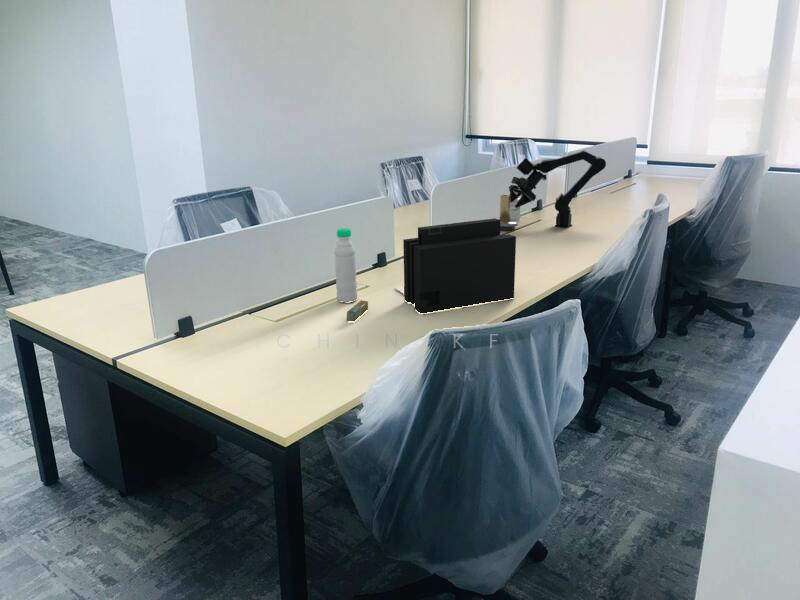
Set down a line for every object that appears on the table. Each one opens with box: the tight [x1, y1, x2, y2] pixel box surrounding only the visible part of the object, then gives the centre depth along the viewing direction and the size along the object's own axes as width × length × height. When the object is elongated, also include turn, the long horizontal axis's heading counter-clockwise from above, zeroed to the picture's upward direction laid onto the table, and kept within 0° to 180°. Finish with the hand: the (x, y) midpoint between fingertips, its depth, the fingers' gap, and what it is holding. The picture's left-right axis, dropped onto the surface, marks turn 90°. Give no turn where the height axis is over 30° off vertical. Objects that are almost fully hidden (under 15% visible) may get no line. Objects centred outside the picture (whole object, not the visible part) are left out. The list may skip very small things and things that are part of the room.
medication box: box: [346, 299, 369, 322], centre depth 214 cm, size 12×3×4 cm, turn 161°
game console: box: [402, 218, 517, 313], centre depth 230 cm, size 35×30×27 cm
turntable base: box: [500, 226, 516, 231], centre depth 330 cm, size 10×10×2 cm
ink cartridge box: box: [510, 195, 521, 222], centre depth 344 cm, size 9×5×15 cm, turn 84°
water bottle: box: [333, 227, 358, 302], centre depth 226 cm, size 7×7×25 cm
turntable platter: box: [497, 218, 519, 228], centre depth 329 cm, size 13×13×1 cm
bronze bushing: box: [499, 194, 511, 223], centre depth 327 cm, size 5×5×13 cm
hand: (511, 205), depth 328 cm, fingers open, 9 cm apart
